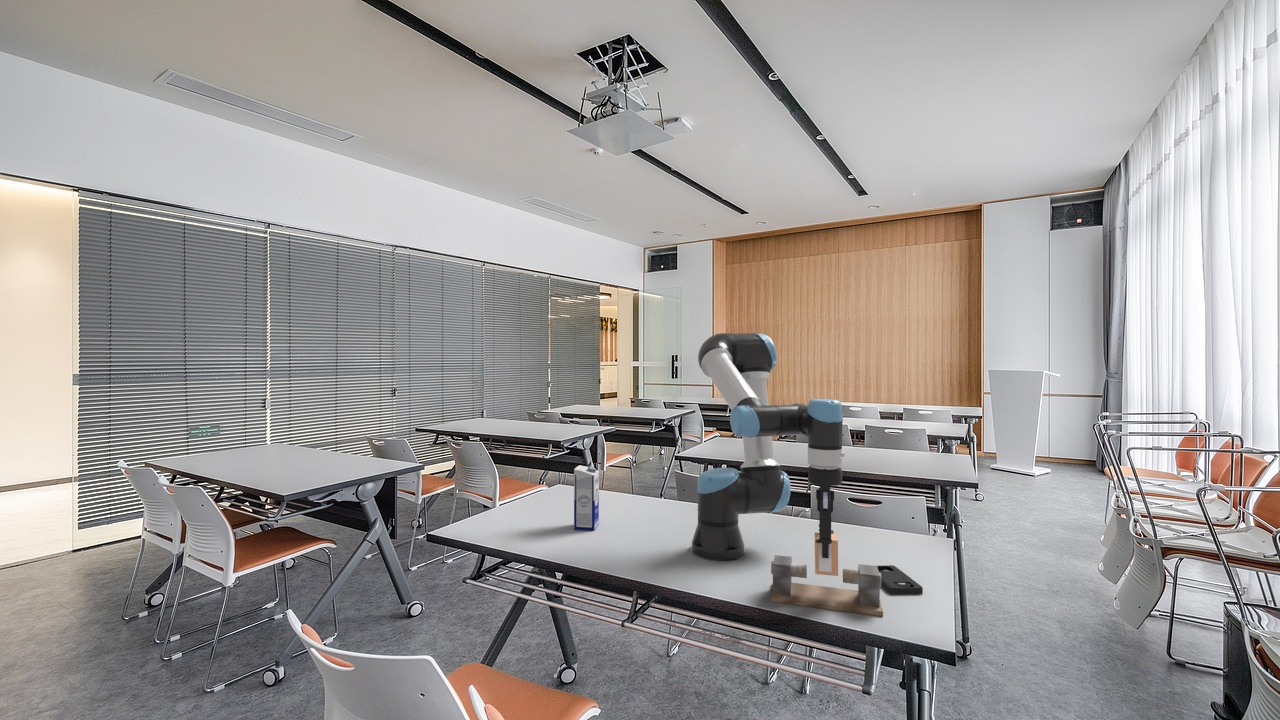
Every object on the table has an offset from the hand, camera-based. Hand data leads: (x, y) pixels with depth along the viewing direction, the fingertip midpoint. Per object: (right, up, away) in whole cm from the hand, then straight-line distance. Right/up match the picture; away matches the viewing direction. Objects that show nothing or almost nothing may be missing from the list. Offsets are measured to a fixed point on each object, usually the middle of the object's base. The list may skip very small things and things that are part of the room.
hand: (825, 566), depth 129 cm
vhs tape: (+20, -8, +10) cm, 24 cm away
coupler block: (0, -1, 0) cm, 1 cm away
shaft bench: (0, -8, 0) cm, 8 cm away
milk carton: (-60, -7, +54) cm, 82 cm away
